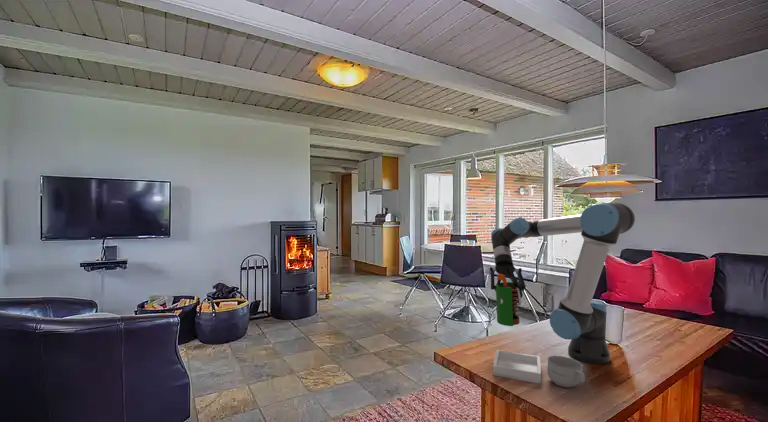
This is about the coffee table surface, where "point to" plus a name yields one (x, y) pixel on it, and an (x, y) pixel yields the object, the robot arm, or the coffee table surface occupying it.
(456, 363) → the coffee table surface
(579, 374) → the teacup
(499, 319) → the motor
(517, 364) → the tray
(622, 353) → the coffee table surface
